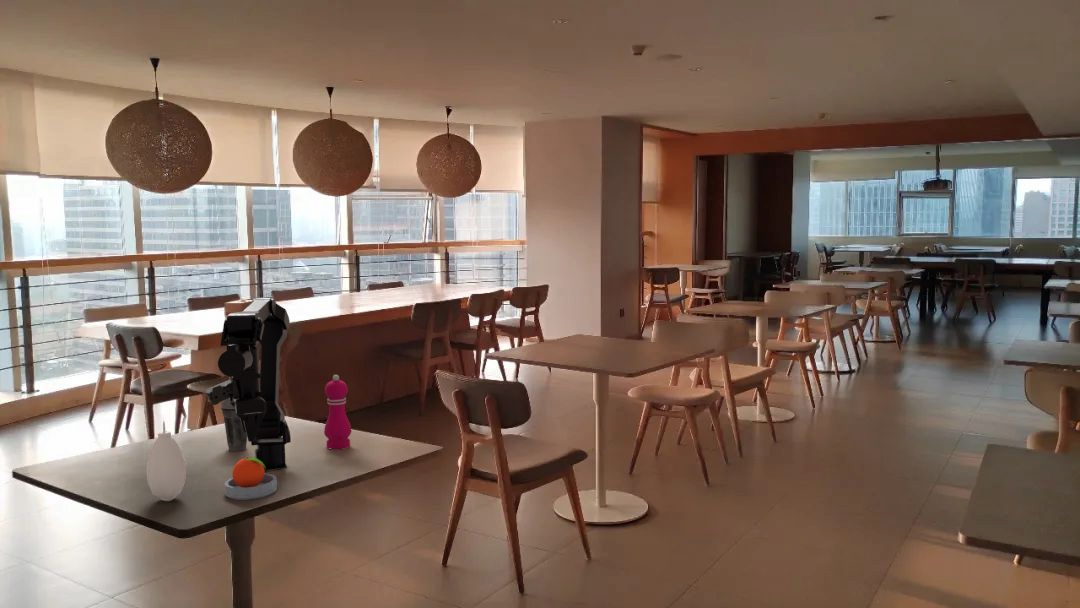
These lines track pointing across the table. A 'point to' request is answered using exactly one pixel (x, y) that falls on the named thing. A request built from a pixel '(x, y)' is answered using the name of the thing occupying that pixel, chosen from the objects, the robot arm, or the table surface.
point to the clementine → (248, 472)
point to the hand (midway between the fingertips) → (248, 436)
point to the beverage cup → (233, 427)
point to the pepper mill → (337, 415)
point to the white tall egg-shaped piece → (166, 467)
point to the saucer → (251, 489)
